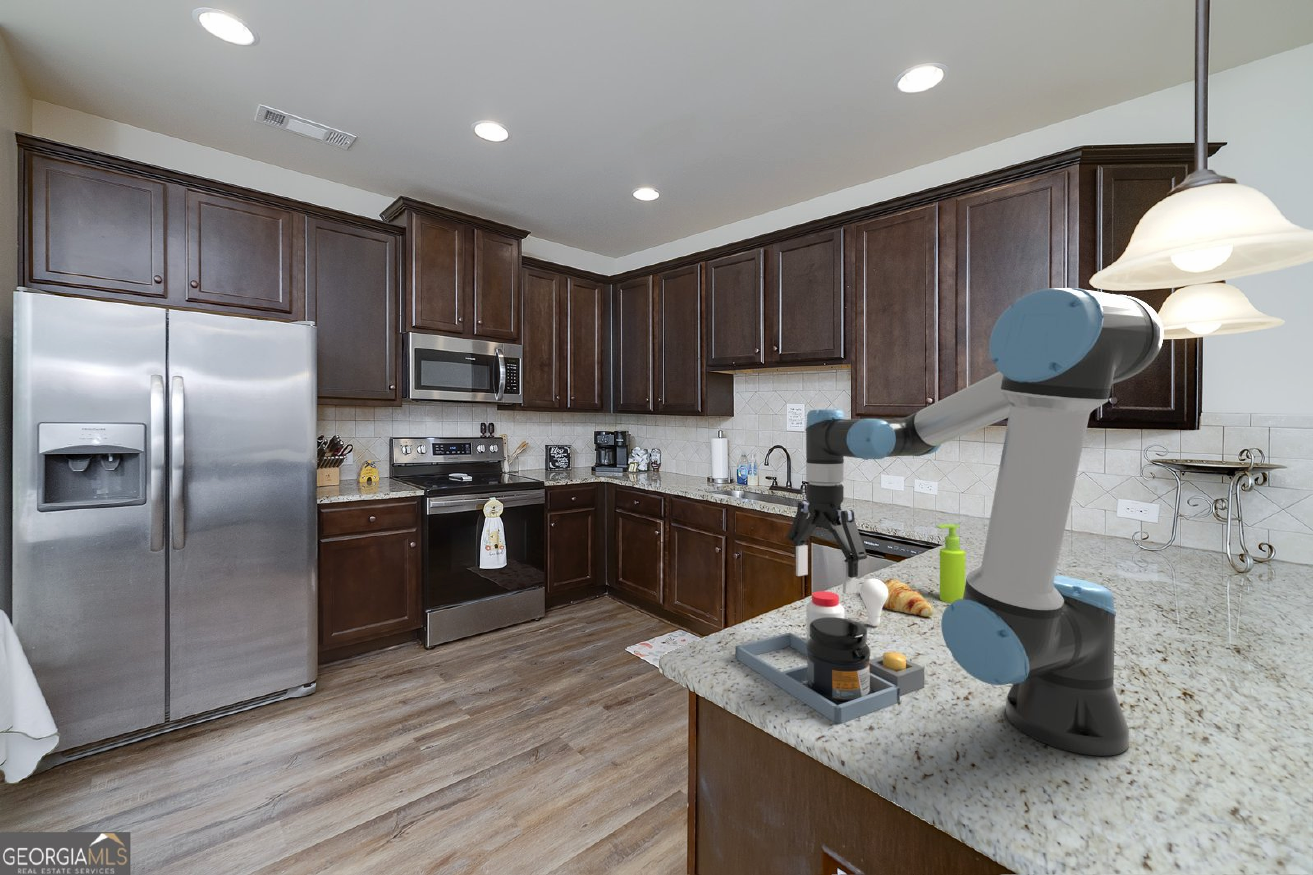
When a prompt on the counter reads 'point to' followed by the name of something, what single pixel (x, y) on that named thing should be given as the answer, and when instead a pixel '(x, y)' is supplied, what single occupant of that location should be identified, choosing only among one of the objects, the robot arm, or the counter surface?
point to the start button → (894, 661)
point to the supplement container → (838, 659)
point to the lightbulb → (874, 599)
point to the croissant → (906, 599)
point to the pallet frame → (793, 678)
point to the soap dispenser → (951, 566)
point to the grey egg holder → (900, 675)
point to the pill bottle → (823, 608)
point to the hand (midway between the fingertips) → (824, 583)
